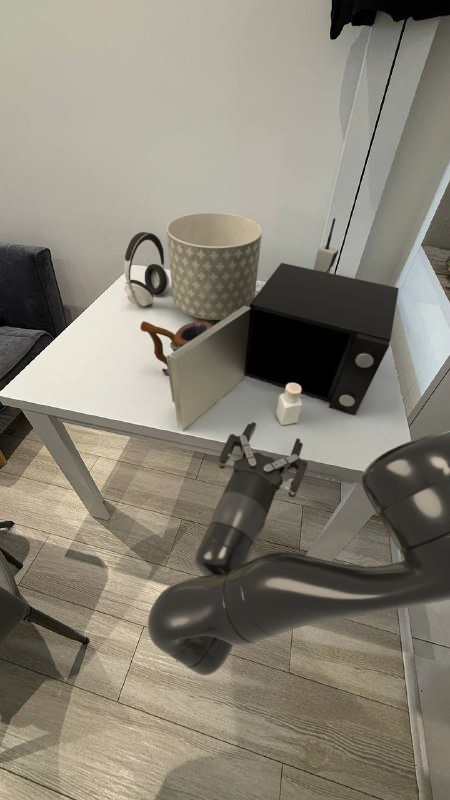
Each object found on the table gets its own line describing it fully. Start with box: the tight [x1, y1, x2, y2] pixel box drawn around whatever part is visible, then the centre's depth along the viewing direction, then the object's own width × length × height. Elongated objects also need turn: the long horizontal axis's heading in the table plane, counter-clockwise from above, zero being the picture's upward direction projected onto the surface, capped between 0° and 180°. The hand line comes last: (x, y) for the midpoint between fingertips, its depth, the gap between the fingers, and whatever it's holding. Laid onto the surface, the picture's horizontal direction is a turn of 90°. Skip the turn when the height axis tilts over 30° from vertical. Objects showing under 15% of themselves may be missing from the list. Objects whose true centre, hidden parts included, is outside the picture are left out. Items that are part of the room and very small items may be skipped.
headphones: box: [123, 231, 170, 307], centre depth 99 cm, size 19×8×20 cm, turn 157°
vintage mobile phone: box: [313, 217, 340, 273], centre depth 100 cm, size 4×5×25 cm
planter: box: [166, 211, 263, 321], centre depth 95 cm, size 25×25×24 cm
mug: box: [139, 320, 214, 376], centre depth 76 cm, size 18×12×15 cm, turn 78°
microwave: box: [244, 262, 399, 416], centre depth 77 cm, size 24×28×20 cm
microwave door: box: [166, 306, 251, 432], centre depth 69 cm, size 5×22×20 cm, turn 141°
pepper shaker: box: [275, 383, 303, 426], centre depth 69 cm, size 4×4×10 cm
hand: (275, 433), depth 60 cm, fingers open, 8 cm apart
